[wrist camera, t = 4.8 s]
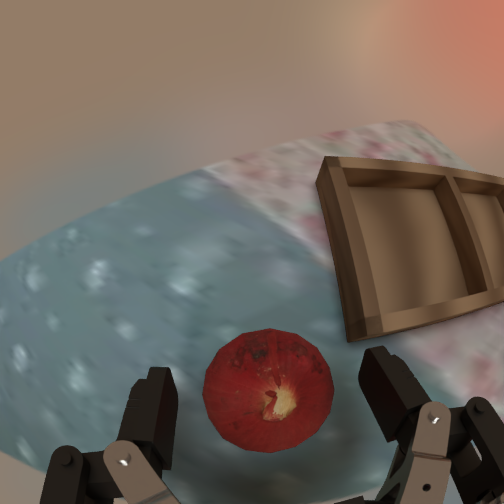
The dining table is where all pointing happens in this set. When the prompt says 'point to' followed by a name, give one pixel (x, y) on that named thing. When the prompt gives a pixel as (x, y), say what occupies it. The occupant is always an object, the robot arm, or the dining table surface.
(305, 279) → the dining table surface
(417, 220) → the walnut tray
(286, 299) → the dining table surface
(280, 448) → the pomegranate
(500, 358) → the dining table surface
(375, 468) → the dining table surface
